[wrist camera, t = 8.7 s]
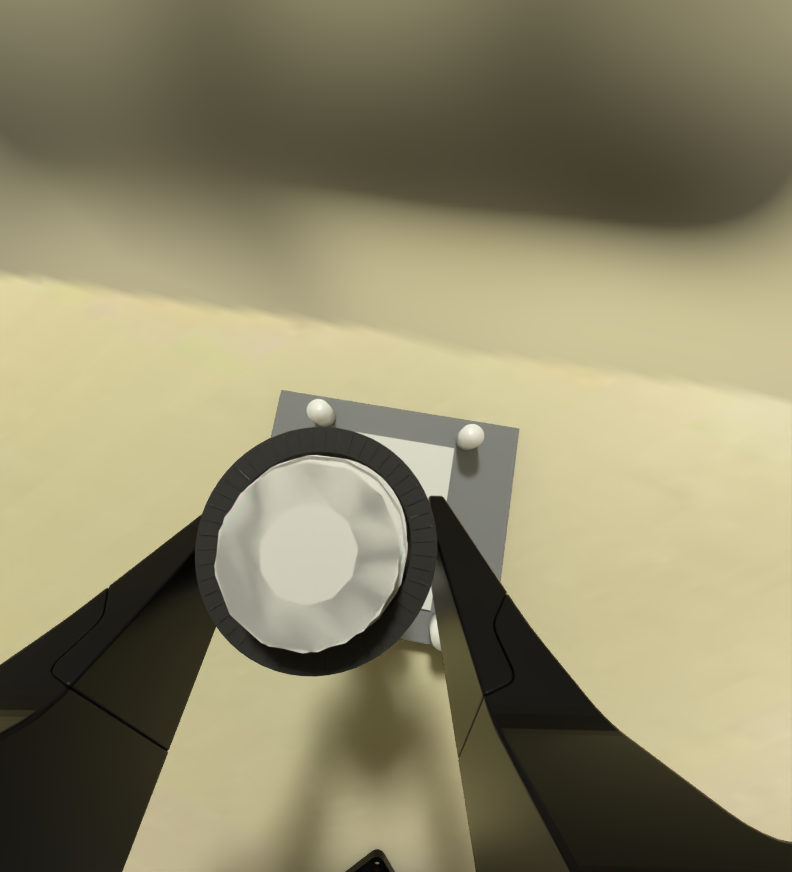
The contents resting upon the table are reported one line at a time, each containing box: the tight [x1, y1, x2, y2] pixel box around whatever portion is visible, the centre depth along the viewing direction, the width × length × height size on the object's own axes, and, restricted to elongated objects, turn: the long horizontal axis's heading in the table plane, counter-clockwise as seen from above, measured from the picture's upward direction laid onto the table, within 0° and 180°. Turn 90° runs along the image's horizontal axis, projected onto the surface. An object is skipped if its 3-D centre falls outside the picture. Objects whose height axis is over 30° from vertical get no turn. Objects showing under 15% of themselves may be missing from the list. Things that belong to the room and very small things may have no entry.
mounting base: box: [271, 390, 519, 651], centre depth 21 cm, size 14×16×3 cm
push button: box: [195, 427, 437, 676], centre depth 11 cm, size 7×5×10 cm
